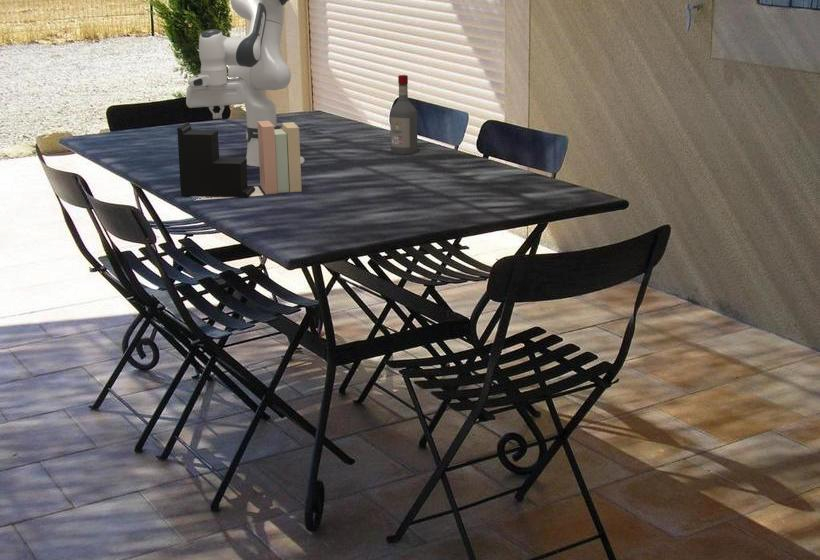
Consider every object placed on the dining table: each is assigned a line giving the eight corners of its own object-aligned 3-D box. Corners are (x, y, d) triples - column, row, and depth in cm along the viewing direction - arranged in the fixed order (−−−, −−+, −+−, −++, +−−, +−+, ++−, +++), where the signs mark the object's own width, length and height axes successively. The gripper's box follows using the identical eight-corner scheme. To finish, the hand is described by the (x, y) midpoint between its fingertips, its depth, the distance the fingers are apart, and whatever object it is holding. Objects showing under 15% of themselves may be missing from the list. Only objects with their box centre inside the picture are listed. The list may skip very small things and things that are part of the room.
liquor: (407, 155, 472) (406, 77, 463) (388, 153, 477) (386, 76, 468) (420, 151, 479) (419, 75, 471) (401, 149, 484) (399, 73, 475)
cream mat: (257, 187, 424) (257, 186, 424) (264, 196, 411) (263, 195, 411) (188, 192, 418) (188, 191, 418) (192, 201, 405) (192, 200, 405)
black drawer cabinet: (255, 190, 418) (252, 122, 411) (248, 197, 408) (244, 128, 401) (189, 189, 421) (185, 122, 414) (180, 196, 410) (175, 127, 403)
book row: (295, 184, 426) (293, 119, 419) (301, 191, 415) (299, 124, 408) (260, 187, 423) (257, 121, 416) (265, 194, 412) (262, 126, 405)
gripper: (243, 75, 421) (246, 114, 425) (183, 79, 416) (187, 119, 420) (245, 77, 415) (248, 117, 419) (185, 82, 410) (188, 122, 414)
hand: (217, 118), depth 420 cm, fingers closed
